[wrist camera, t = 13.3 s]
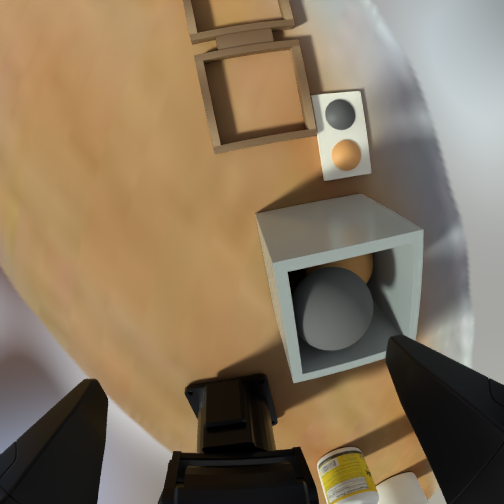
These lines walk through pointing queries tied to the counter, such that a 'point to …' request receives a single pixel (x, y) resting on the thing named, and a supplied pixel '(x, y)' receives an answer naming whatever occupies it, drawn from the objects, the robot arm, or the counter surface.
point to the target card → (341, 134)
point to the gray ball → (332, 308)
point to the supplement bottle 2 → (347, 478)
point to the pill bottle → (401, 490)
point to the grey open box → (338, 248)
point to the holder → (247, 43)
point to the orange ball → (351, 266)
